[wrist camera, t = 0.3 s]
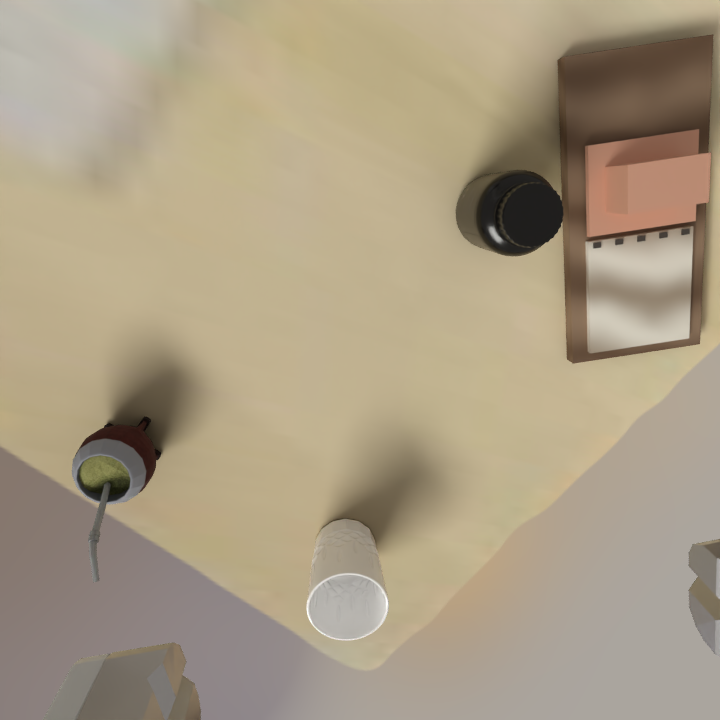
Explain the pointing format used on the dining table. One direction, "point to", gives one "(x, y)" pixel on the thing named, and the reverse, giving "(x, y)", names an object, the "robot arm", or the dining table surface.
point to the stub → (645, 182)
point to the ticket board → (638, 247)
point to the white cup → (346, 582)
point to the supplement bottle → (509, 212)
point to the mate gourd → (113, 471)
